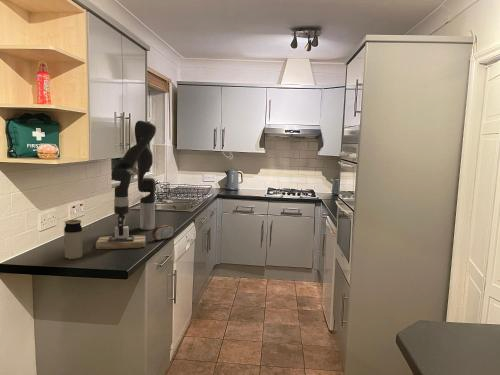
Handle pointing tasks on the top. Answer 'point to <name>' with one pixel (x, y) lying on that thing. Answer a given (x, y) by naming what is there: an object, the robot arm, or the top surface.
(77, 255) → the travel mug
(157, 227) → the tin
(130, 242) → the loading dock
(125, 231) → the white block
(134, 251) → the top surface
